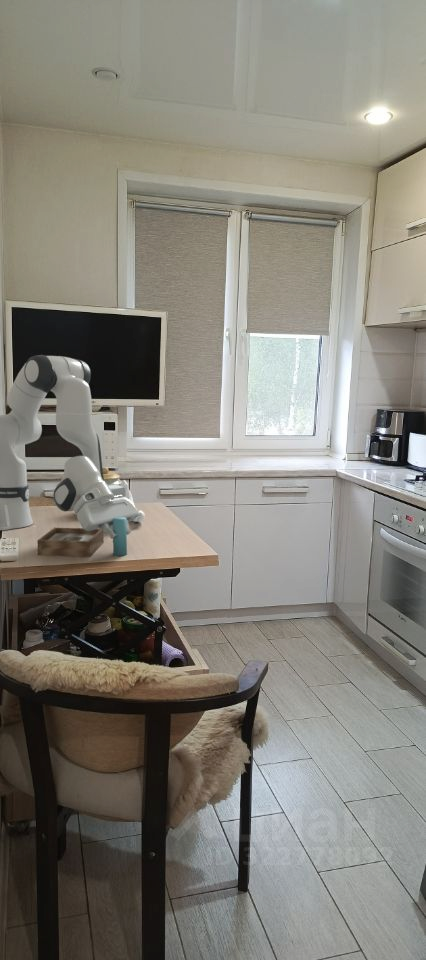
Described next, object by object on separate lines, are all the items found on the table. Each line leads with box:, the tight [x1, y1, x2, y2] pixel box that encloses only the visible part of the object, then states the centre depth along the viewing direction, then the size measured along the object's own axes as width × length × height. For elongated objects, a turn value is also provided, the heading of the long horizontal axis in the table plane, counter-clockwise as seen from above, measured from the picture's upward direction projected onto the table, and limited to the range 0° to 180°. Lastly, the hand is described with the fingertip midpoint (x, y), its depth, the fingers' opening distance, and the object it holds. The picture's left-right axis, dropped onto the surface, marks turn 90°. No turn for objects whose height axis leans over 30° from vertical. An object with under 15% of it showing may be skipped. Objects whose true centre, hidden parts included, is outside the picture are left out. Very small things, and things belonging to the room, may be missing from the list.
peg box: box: [37, 527, 105, 558], centre depth 199 cm, size 16×16×4 cm
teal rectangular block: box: [112, 517, 128, 557], centre depth 194 cm, size 4×4×11 cm
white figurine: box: [122, 479, 146, 523], centre depth 235 cm, size 5×19×15 cm, turn 29°
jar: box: [102, 466, 123, 486], centre depth 250 cm, size 13×13×18 cm
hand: (121, 535), depth 193 cm, fingers closed on teal rectangular block, 4 cm apart
